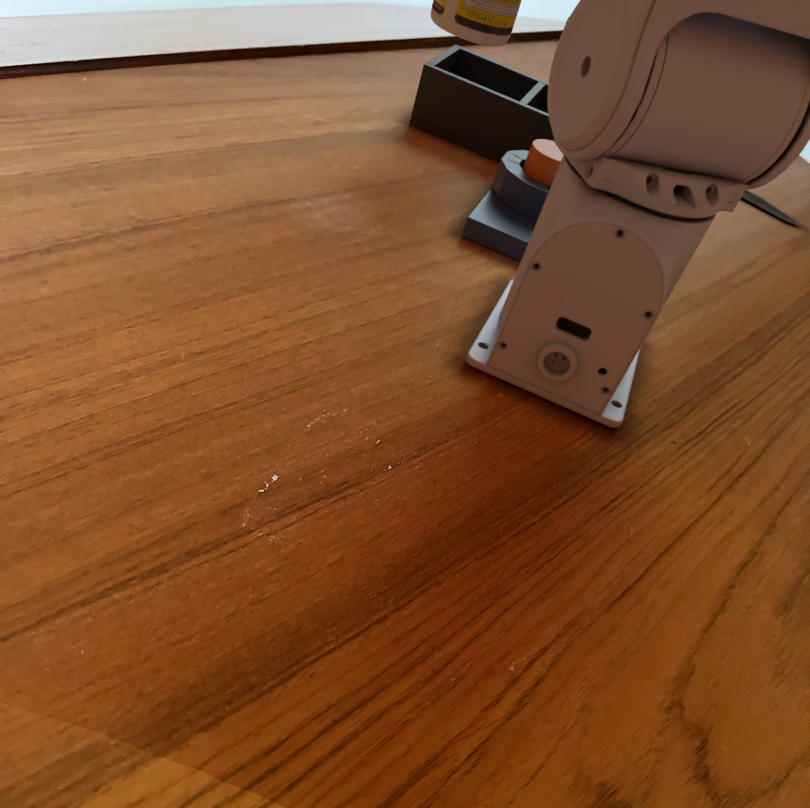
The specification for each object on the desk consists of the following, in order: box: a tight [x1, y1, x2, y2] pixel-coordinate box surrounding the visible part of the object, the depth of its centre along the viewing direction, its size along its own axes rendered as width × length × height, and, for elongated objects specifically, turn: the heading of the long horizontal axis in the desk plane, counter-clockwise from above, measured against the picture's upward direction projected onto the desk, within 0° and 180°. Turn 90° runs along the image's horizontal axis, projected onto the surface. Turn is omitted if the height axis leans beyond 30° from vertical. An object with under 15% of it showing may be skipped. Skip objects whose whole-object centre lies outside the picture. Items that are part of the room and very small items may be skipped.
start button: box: [523, 139, 564, 186], centre depth 47 cm, size 3×3×2 cm
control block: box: [461, 150, 551, 262], centre depth 47 cm, size 10×8×3 cm
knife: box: [741, 190, 801, 227], centre depth 64 cm, size 16×1×3 cm
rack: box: [408, 44, 554, 163], centre depth 56 cm, size 8×15×4 cm, turn 70°
